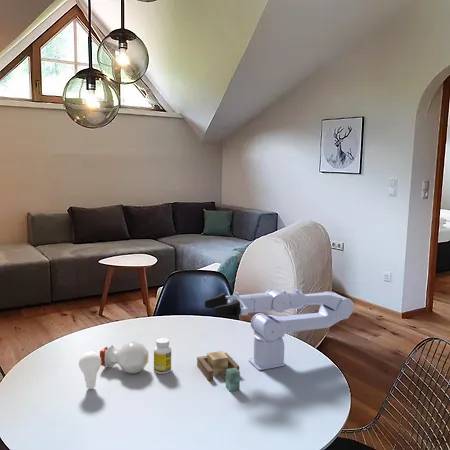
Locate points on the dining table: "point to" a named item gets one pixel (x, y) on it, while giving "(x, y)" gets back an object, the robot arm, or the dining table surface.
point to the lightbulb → (90, 367)
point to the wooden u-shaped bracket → (208, 370)
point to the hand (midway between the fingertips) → (209, 307)
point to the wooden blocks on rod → (224, 370)
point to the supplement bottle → (162, 356)
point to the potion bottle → (126, 357)
